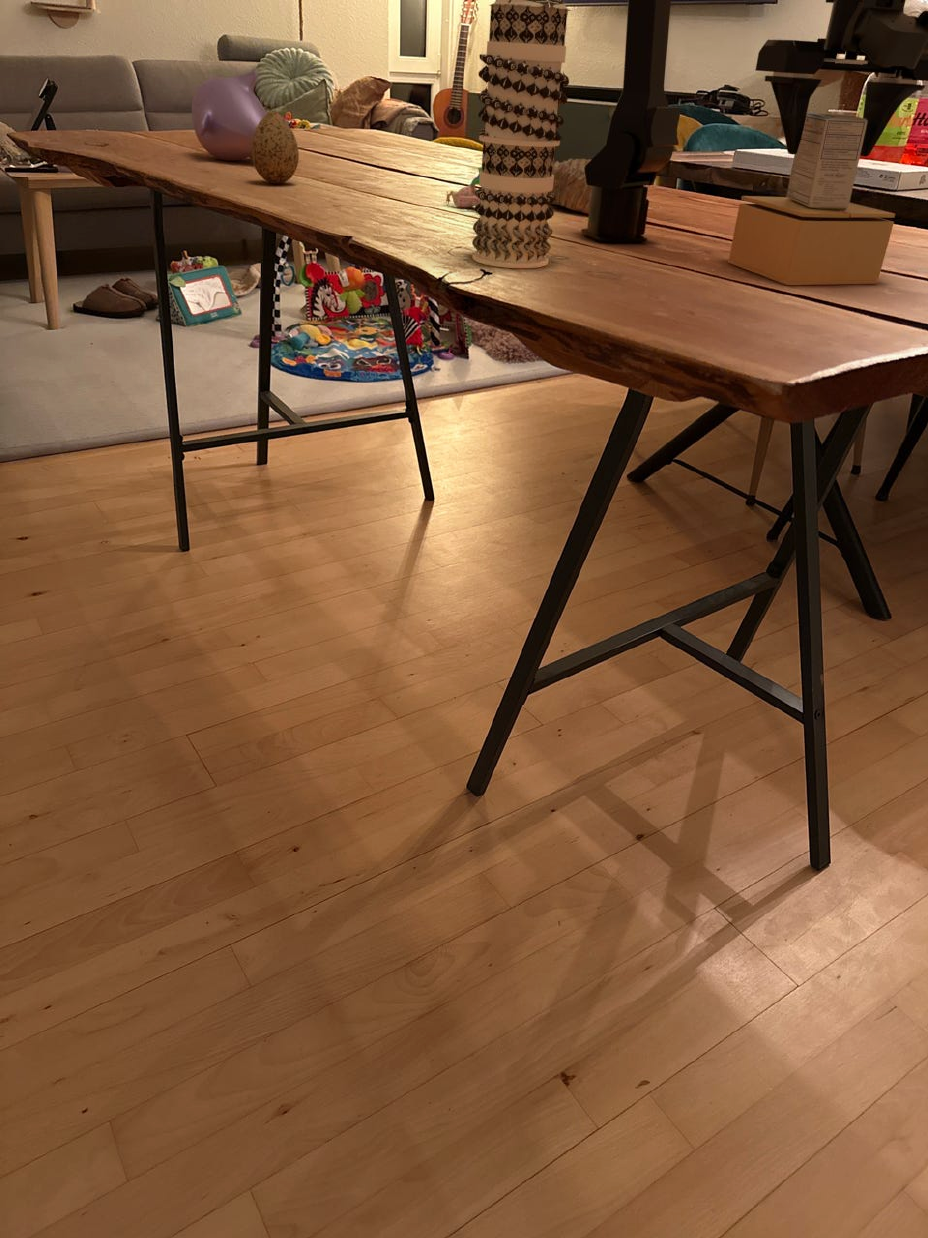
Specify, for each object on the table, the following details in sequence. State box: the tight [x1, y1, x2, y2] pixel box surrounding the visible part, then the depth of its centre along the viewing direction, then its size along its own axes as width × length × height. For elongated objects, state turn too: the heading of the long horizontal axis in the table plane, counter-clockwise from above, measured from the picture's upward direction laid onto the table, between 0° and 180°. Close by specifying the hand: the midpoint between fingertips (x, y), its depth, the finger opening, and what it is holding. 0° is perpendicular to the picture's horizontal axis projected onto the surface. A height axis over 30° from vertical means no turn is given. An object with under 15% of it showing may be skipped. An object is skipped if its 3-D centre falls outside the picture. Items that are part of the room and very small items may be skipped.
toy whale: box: [191, 70, 289, 162], centre depth 163 cm, size 14×25×16 cm, turn 46°
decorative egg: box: [251, 110, 300, 185], centre depth 143 cm, size 7×7×10 cm
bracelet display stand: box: [471, 0, 572, 269], centre depth 97 cm, size 9×9×25 cm
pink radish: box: [445, 166, 482, 209], centre depth 131 cm, size 6×6×15 cm
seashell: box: [551, 157, 592, 215], centre depth 137 cm, size 14×9×10 cm
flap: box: [741, 195, 849, 218], centre depth 102 cm, size 6×12×1 cm, turn 18°
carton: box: [728, 196, 896, 286], centre depth 104 cm, size 12×12×7 cm
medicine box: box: [786, 112, 867, 210], centre depth 100 cm, size 8×4×9 cm, turn 1°
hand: (828, 154), depth 100 cm, fingers open, 9 cm apart
